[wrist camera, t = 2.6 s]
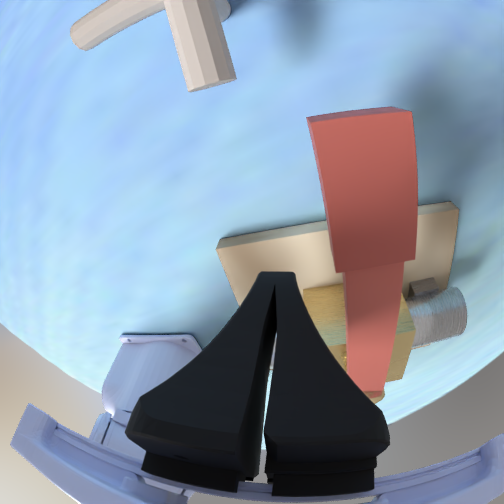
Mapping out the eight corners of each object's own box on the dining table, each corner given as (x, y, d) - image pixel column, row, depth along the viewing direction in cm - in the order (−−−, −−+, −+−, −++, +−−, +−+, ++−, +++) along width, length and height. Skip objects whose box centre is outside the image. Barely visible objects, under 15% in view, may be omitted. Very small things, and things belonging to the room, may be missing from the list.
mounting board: (268, 360, 25) (267, 370, 24) (219, 239, 18) (215, 249, 17) (426, 335, 21) (430, 344, 20) (450, 201, 14) (459, 209, 13)
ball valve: (256, 339, 23) (246, 408, 17) (236, 292, 20) (218, 368, 14) (437, 310, 19) (462, 373, 13) (448, 257, 16) (488, 323, 10)
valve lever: (381, 387, 14) (384, 406, 13) (341, 393, 15) (342, 413, 14) (391, 106, 6) (411, 111, 5) (306, 117, 7) (310, 123, 6)
